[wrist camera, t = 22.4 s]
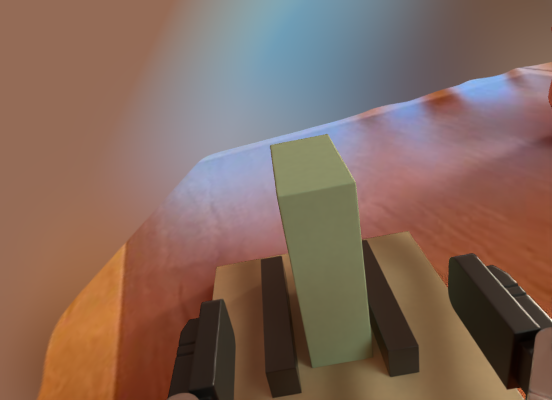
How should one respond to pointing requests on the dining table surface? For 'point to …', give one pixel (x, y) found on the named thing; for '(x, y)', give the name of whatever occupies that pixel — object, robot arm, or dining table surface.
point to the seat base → (384, 333)
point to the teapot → (550, 91)
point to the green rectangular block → (324, 248)
